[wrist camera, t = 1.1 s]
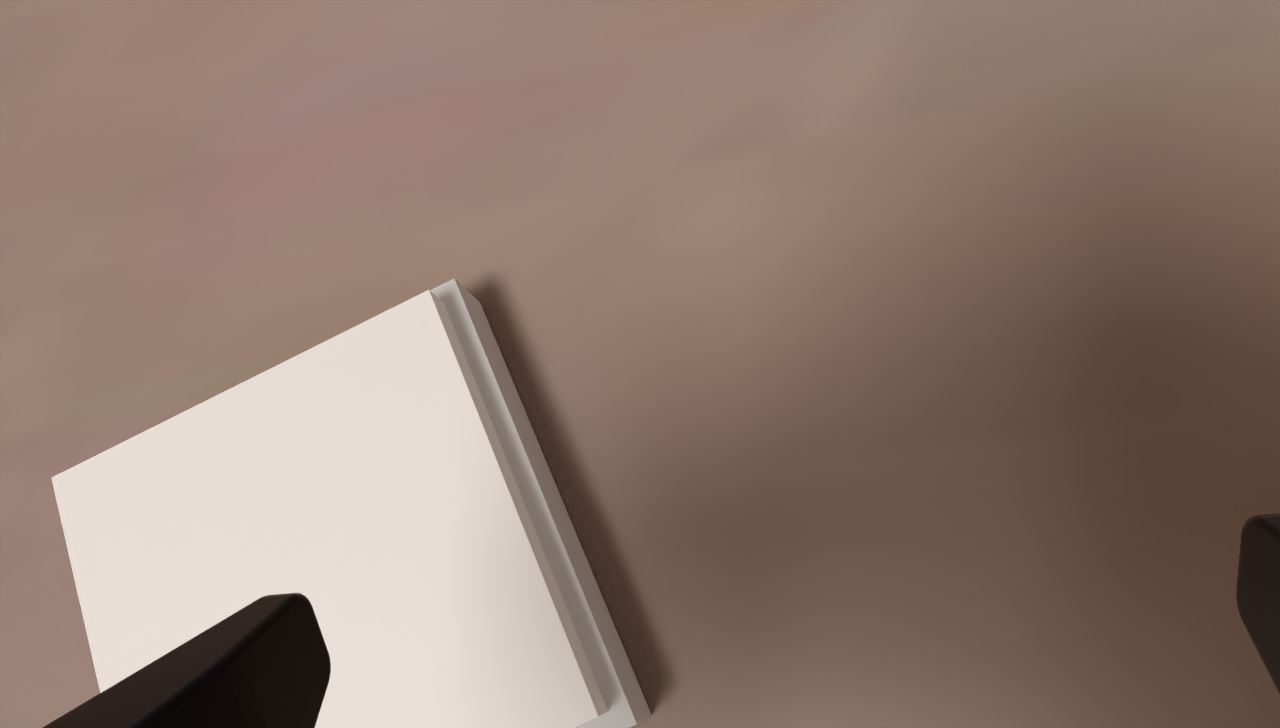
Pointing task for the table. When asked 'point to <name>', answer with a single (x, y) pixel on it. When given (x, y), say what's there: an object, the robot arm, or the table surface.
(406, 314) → the stand
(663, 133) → the table surface
